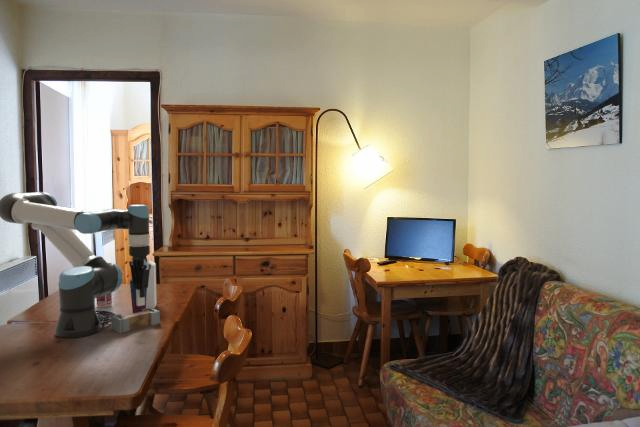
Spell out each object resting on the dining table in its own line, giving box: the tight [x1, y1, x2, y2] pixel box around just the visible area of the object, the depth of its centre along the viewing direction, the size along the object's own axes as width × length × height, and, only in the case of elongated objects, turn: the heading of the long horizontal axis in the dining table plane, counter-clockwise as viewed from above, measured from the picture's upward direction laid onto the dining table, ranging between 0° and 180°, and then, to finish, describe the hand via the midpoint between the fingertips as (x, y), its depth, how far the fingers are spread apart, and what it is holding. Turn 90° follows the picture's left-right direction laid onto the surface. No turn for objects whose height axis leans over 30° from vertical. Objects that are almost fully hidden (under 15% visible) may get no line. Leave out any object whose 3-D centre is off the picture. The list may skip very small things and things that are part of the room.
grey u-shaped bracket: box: [110, 313, 130, 334], centre depth 187 cm, size 4×7×5 cm, turn 47°
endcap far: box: [142, 308, 161, 326], centre depth 196 cm, size 4×7×5 cm, turn 47°
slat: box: [119, 310, 152, 331], centre depth 191 cm, size 12×4×5 cm, turn 139°
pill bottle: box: [96, 293, 113, 308], centre depth 219 cm, size 6×6×11 cm
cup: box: [129, 278, 147, 314], centre depth 206 cm, size 7×7×15 cm
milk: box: [146, 255, 157, 309], centre depth 218 cm, size 6×6×22 cm
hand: (140, 305), depth 193 cm, fingers closed
